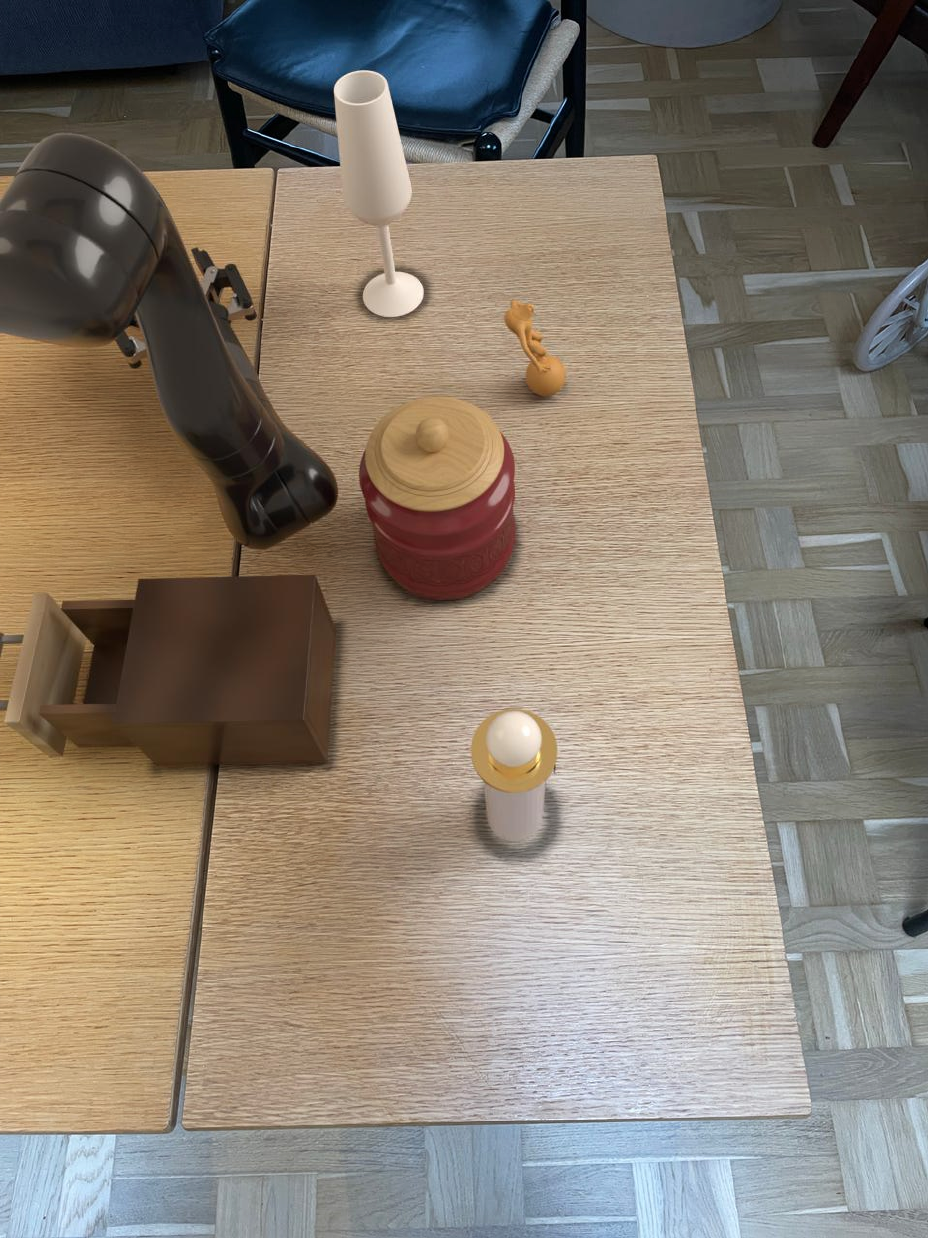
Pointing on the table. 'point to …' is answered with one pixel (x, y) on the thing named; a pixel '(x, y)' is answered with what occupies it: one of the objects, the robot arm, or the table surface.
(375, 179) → the champagne flute
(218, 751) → the cabinet
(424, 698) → the table surface
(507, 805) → the perfume bottle
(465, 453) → the kitchen canister
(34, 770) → the table surface
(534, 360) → the figurine
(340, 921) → the table surface
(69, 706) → the drawer
